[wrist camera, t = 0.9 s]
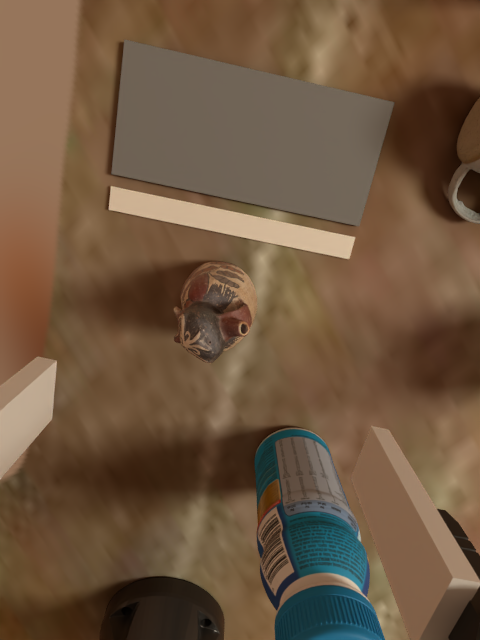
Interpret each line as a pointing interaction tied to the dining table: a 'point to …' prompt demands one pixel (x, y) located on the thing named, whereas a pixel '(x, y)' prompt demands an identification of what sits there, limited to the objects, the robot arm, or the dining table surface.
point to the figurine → (215, 309)
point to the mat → (246, 134)
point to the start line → (230, 222)
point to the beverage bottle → (310, 543)
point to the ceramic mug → (467, 161)
